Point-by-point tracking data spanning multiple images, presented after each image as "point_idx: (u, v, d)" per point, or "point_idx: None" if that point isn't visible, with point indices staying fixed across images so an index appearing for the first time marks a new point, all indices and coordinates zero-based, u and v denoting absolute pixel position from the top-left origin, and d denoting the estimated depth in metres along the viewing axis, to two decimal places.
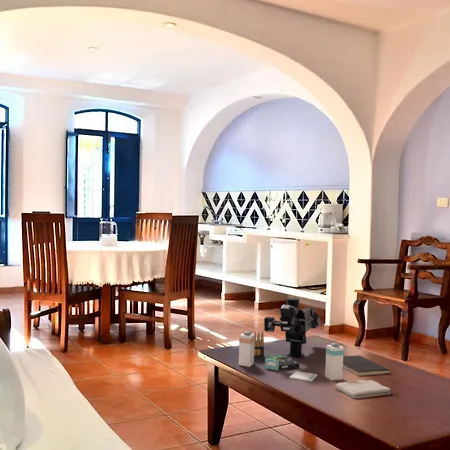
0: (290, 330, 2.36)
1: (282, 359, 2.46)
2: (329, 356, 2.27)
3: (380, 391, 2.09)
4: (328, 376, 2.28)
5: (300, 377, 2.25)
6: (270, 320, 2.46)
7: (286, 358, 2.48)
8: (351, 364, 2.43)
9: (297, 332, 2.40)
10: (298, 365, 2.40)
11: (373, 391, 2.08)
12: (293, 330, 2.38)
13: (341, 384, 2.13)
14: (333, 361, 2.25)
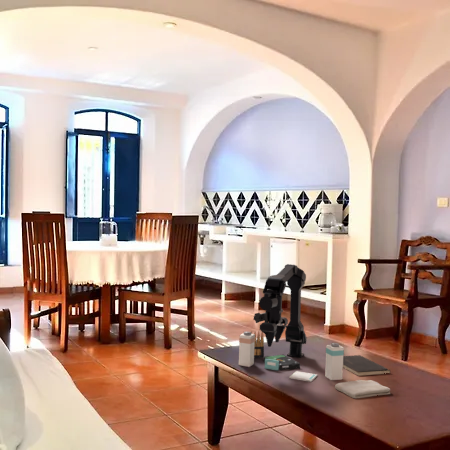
0: (269, 345, 2.30)
1: (282, 359, 2.46)
2: (329, 356, 2.27)
3: (380, 391, 2.09)
4: (328, 376, 2.28)
5: (300, 377, 2.25)
6: None
7: (286, 358, 2.48)
8: (351, 364, 2.43)
9: (272, 334, 2.28)
10: (298, 365, 2.40)
11: (373, 391, 2.08)
12: (269, 340, 2.30)
13: (341, 384, 2.13)
14: (333, 361, 2.25)
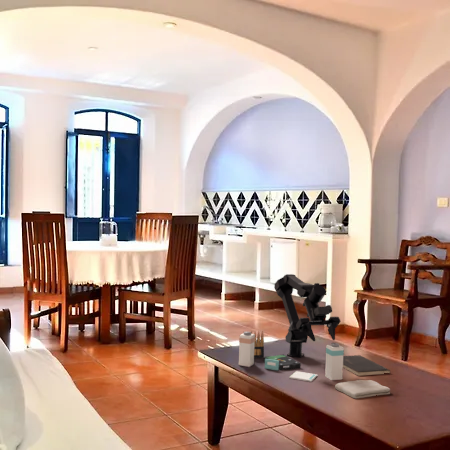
0: None
1: (283, 359, 2.46)
2: (329, 356, 2.27)
3: (380, 391, 2.09)
4: (328, 376, 2.28)
5: (300, 377, 2.25)
6: (309, 325, 2.36)
7: (287, 358, 2.48)
8: (351, 364, 2.43)
9: None
10: (299, 365, 2.40)
11: (373, 391, 2.08)
12: None
13: (341, 384, 2.13)
14: (333, 361, 2.25)
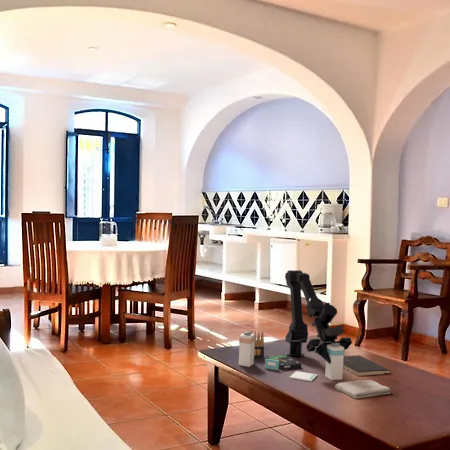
0: None
1: (284, 359, 2.46)
2: (329, 356, 2.27)
3: (380, 391, 2.10)
4: (328, 376, 2.28)
5: (300, 377, 2.25)
6: (324, 347, 2.28)
7: (288, 358, 2.48)
8: (351, 364, 2.43)
9: None
10: (300, 365, 2.41)
11: (373, 391, 2.08)
12: None
13: (341, 384, 2.13)
14: (333, 361, 2.25)
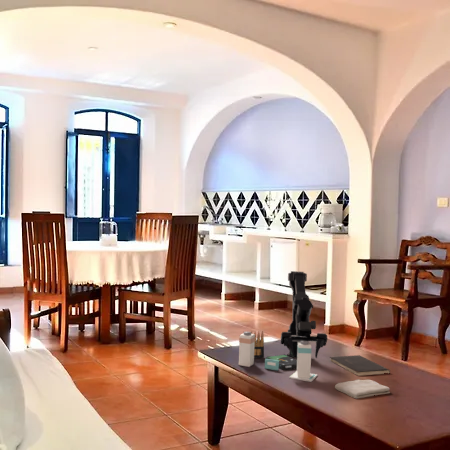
0: (316, 356, 2.27)
1: (285, 359, 2.46)
2: None
3: (380, 390, 2.10)
4: (297, 373, 2.28)
5: (300, 377, 2.25)
6: (290, 340, 2.29)
7: (289, 358, 2.48)
8: (351, 364, 2.43)
9: (319, 348, 2.31)
10: None
11: (374, 391, 2.08)
12: None
13: (341, 384, 2.13)
14: (299, 358, 2.26)
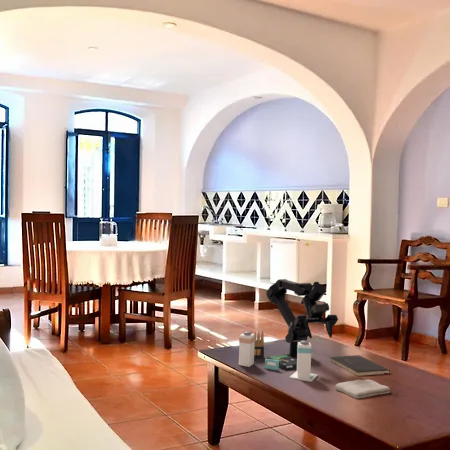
0: None
1: (286, 359, 2.46)
2: None
3: (380, 390, 2.10)
4: (297, 373, 2.28)
5: (300, 377, 2.25)
6: (306, 323, 2.40)
7: (290, 358, 2.48)
8: (351, 364, 2.43)
9: None
10: None
11: (374, 390, 2.09)
12: None
13: (341, 384, 2.13)
14: (299, 358, 2.26)
